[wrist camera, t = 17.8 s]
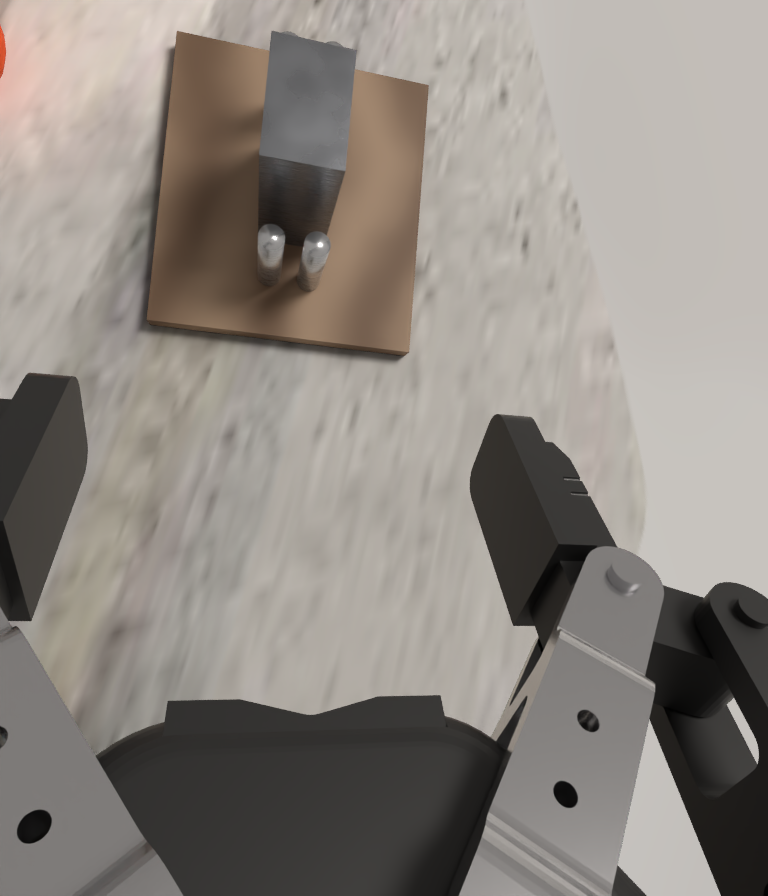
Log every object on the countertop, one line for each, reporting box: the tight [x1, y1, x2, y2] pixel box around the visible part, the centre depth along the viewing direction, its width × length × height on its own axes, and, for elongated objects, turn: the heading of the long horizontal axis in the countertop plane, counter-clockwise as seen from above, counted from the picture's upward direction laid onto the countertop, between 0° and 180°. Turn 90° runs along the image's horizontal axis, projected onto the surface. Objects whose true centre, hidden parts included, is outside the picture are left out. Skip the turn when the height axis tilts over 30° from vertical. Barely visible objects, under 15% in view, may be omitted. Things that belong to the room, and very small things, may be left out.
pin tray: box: [147, 31, 429, 356], centre depth 36 cm, size 16×18×7 cm
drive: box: [258, 31, 357, 247], centre depth 33 cm, size 4×6×10 cm, turn 175°
